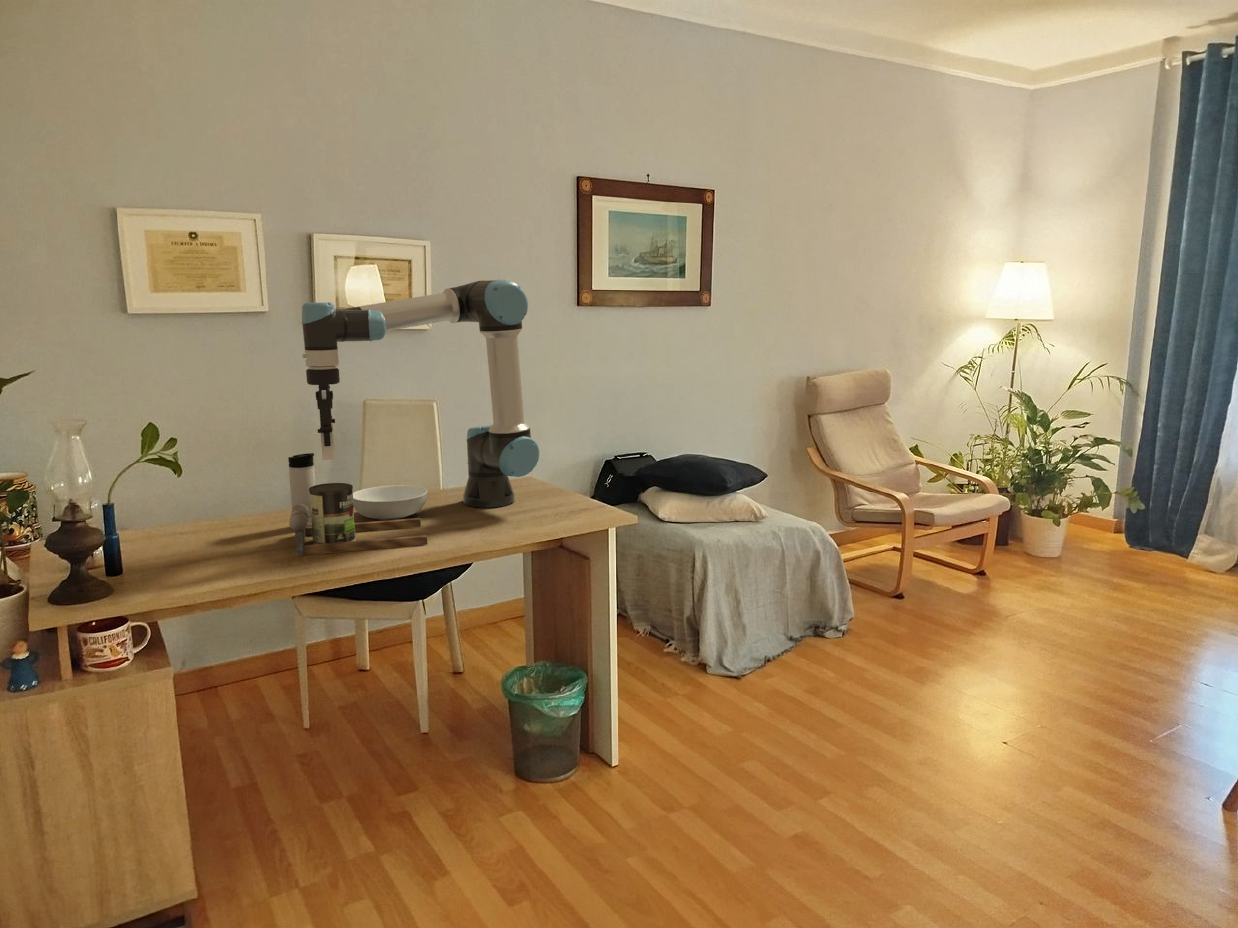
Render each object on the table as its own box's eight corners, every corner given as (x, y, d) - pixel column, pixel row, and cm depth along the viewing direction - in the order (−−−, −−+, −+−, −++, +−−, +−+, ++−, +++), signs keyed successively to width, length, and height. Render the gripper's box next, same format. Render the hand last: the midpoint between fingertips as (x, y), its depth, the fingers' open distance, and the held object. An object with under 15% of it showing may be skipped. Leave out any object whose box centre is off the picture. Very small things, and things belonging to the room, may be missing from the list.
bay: (420, 525, 229) (418, 492, 227) (427, 544, 211) (425, 509, 209) (294, 535, 219) (291, 501, 217) (290, 556, 201) (287, 519, 200)
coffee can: (363, 537, 218) (360, 483, 215) (343, 548, 208) (339, 492, 205) (325, 535, 219) (322, 481, 217) (304, 546, 209) (300, 490, 207)
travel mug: (311, 530, 223) (305, 455, 219) (288, 529, 225) (282, 454, 221) (324, 524, 229) (319, 451, 226) (301, 523, 231) (296, 450, 227)
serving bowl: (426, 505, 251) (425, 482, 250) (430, 523, 231) (429, 498, 230) (352, 510, 246) (351, 486, 244) (350, 528, 226) (349, 503, 224)
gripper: (307, 364, 215) (313, 446, 220) (304, 372, 192) (311, 464, 196) (338, 363, 218) (344, 445, 222) (339, 371, 194) (345, 462, 199)
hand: (328, 454), depth 209 cm, fingers open, 13 cm apart
